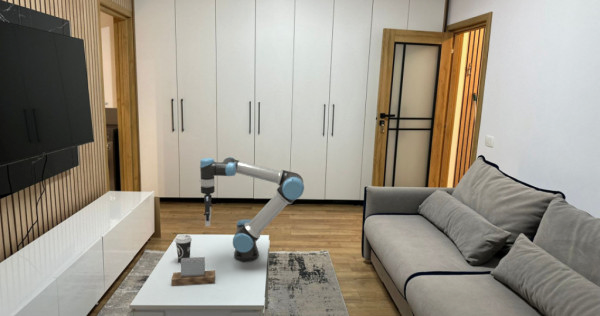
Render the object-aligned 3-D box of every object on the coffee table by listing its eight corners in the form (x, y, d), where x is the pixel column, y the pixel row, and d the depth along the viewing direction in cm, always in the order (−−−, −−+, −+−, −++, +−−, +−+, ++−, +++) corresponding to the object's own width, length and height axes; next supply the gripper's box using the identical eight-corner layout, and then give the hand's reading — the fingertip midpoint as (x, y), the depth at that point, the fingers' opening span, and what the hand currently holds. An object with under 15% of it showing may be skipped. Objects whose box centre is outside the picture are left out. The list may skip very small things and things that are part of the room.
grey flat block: (205, 277, 217) (204, 257, 215) (204, 281, 214) (204, 260, 211) (182, 279, 215) (181, 258, 213) (181, 282, 212) (180, 261, 209)
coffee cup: (187, 265, 233) (186, 240, 230) (172, 263, 235) (171, 239, 232) (195, 258, 242) (194, 234, 239) (180, 256, 244) (179, 233, 241)
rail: (215, 276, 220) (215, 270, 220) (214, 283, 213) (214, 277, 212) (173, 278, 217) (173, 272, 216) (171, 285, 209) (171, 279, 208)
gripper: (202, 180, 236) (202, 215, 240) (199, 191, 212) (200, 229, 216) (215, 180, 237) (215, 214, 241) (213, 191, 213) (214, 229, 217)
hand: (208, 221), depth 228 cm, fingers open, 13 cm apart
